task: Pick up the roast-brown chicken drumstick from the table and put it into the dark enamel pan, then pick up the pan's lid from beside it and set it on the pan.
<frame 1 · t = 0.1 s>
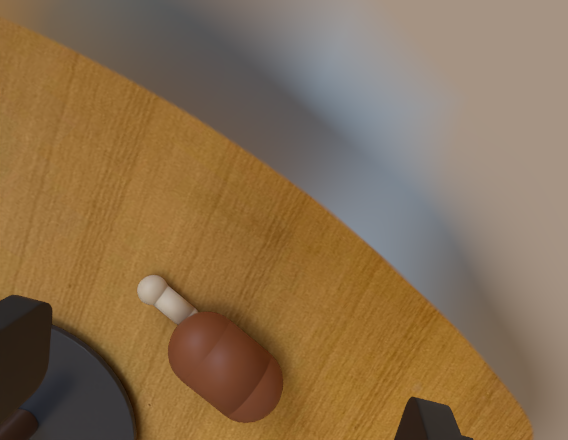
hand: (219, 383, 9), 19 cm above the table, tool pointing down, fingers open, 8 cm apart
lid: (28, 417, 33), point 1 cm above the table
drumstick: (234, 346, 31), on the table
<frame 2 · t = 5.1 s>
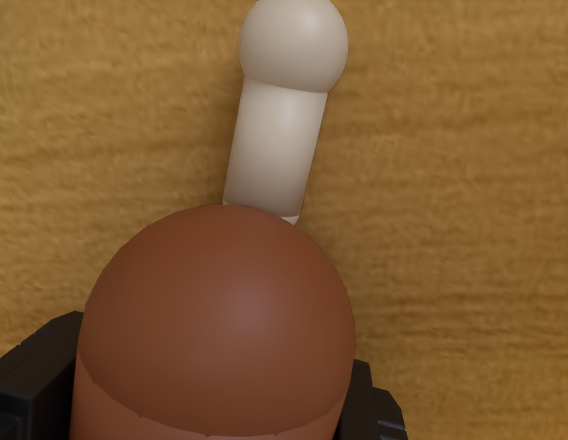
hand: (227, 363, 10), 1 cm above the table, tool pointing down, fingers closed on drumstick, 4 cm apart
drumstick: (237, 350, 11), on the table, touching gripper
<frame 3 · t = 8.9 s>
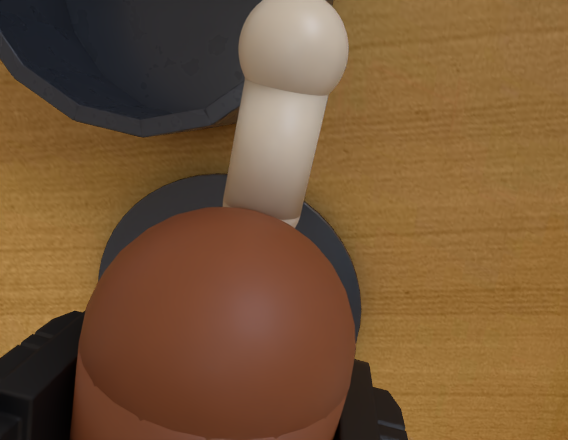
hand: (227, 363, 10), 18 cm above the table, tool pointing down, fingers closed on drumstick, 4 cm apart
lid: (226, 304, 29), point 1 cm above the table
drumstick: (237, 351, 11), point 17 cm above the table, touching gripper
when the fingers open (8 cm above the table, at t = 12.9 s): drumstick drops 6 cm, resting on pan.
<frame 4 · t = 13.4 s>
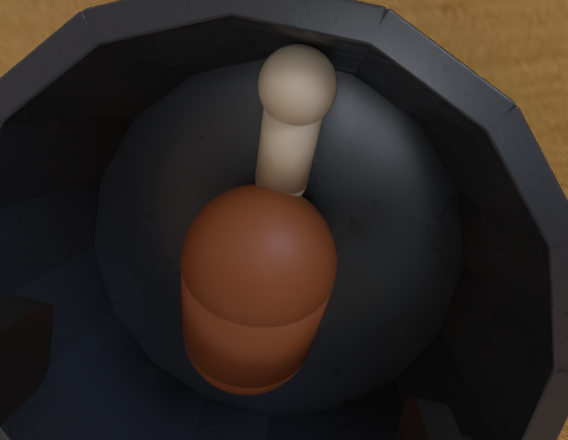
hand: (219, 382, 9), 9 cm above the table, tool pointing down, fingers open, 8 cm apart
pan: (272, 251, 18), on the table
drumstick: (272, 247, 16), point 2 cm above the table, tilted 27°, touching pan
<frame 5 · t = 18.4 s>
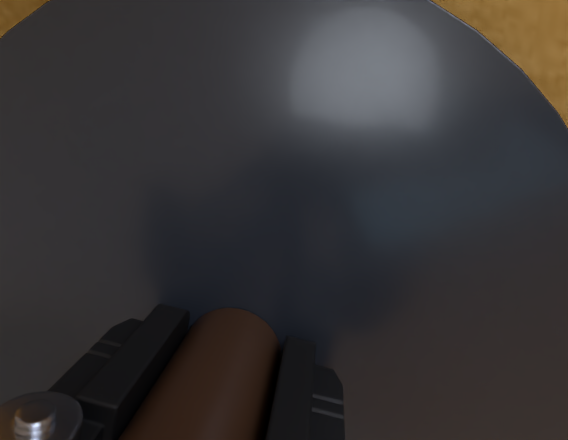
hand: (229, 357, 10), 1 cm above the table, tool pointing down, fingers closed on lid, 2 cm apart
lid: (237, 340, 11), point 1 cm above the table, touching gripper
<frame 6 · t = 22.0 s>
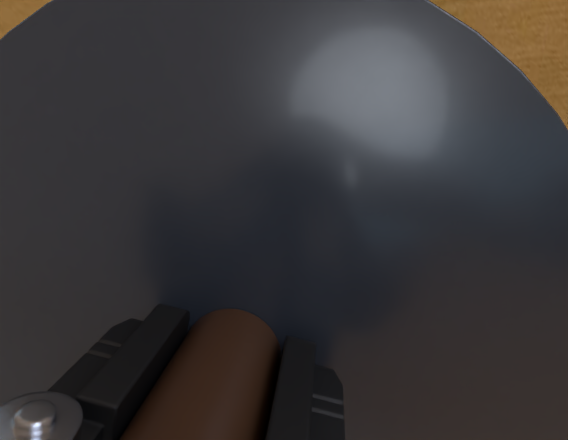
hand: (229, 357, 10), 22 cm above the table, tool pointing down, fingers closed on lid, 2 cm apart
lid: (237, 341, 11), point 21 cm above the table, touching gripper
when the fingers open (8 cm above the table, at t = 25.7 s): lid stays where it is, resting on drumstick, pan.
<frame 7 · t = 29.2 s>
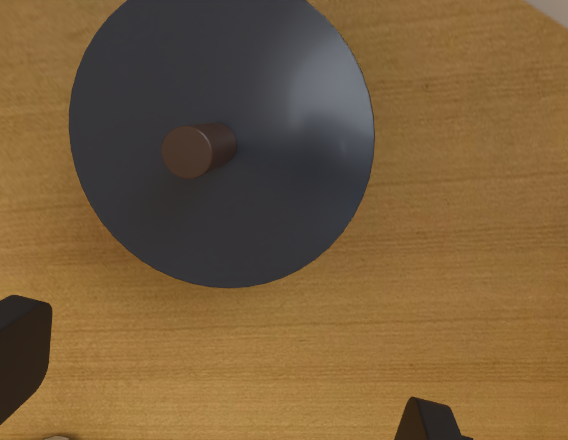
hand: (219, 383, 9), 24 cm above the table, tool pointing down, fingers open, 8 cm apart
lid: (218, 143, 25), point 8 cm above the table, touching drumstick, pan
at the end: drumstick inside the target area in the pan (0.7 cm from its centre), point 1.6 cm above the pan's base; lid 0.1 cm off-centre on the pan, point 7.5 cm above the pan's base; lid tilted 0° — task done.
